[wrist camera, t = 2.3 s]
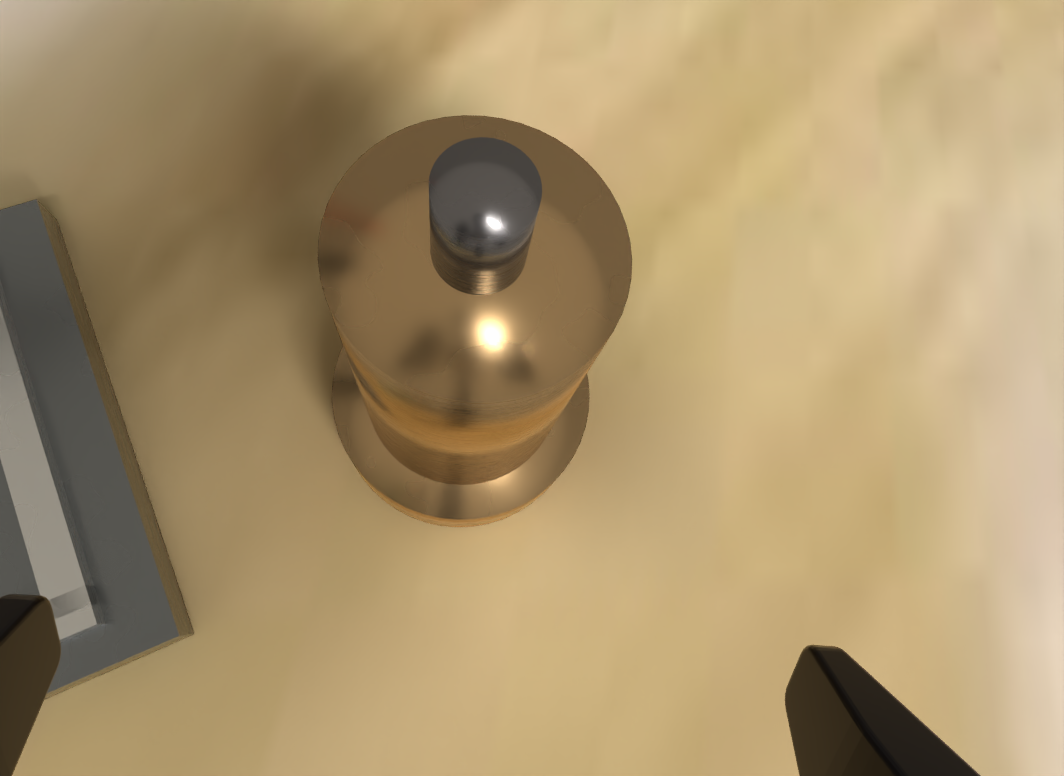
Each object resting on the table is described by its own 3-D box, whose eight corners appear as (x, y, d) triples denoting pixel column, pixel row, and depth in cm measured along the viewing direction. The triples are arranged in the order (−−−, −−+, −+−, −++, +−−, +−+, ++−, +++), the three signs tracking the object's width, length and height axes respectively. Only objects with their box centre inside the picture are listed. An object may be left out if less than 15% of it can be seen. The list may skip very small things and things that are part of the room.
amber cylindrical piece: (617, 374, 23) (801, 134, 12) (500, 573, 21) (577, 532, 9) (426, 259, 24) (412, -90, 12) (292, 445, 22) (111, 247, 10)
